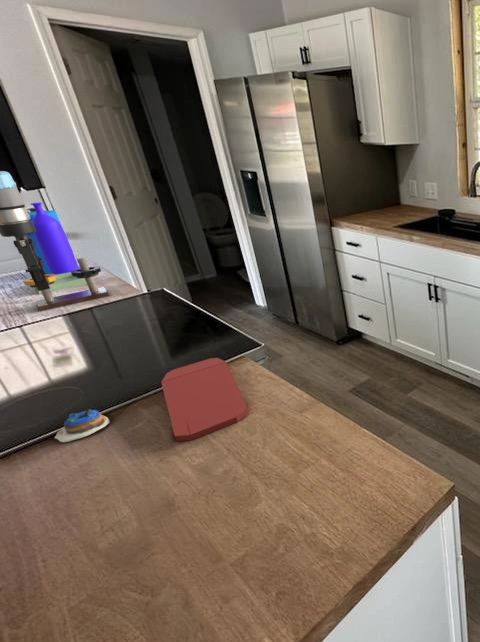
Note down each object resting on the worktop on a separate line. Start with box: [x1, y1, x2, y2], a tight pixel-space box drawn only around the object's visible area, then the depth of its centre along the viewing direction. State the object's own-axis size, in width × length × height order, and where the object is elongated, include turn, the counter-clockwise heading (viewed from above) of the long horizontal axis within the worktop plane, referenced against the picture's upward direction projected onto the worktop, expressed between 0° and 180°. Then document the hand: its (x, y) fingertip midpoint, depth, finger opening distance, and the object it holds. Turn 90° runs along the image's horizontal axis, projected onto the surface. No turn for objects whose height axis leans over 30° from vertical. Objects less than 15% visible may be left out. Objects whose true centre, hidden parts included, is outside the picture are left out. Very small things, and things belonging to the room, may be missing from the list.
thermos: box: [27, 210, 76, 274], centre depth 170 cm, size 11×11×25 cm
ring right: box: [71, 265, 102, 277], centre depth 144 cm, size 7×7×1 cm
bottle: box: [30, 201, 80, 275], centre depth 164 cm, size 8×8×30 cm
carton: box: [160, 357, 250, 442], centre depth 90 cm, size 12×5×25 cm
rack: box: [29, 257, 110, 312], centre depth 141 cm, size 17×8×14 cm, turn 139°
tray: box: [35, 272, 88, 295], centre depth 159 cm, size 15×13×3 cm
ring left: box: [23, 274, 57, 287], centre depth 136 cm, size 7×7×1 cm
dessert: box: [54, 408, 110, 443], centre depth 81 cm, size 8×7×6 cm
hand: (43, 285), depth 137 cm, fingers open, 13 cm apart
